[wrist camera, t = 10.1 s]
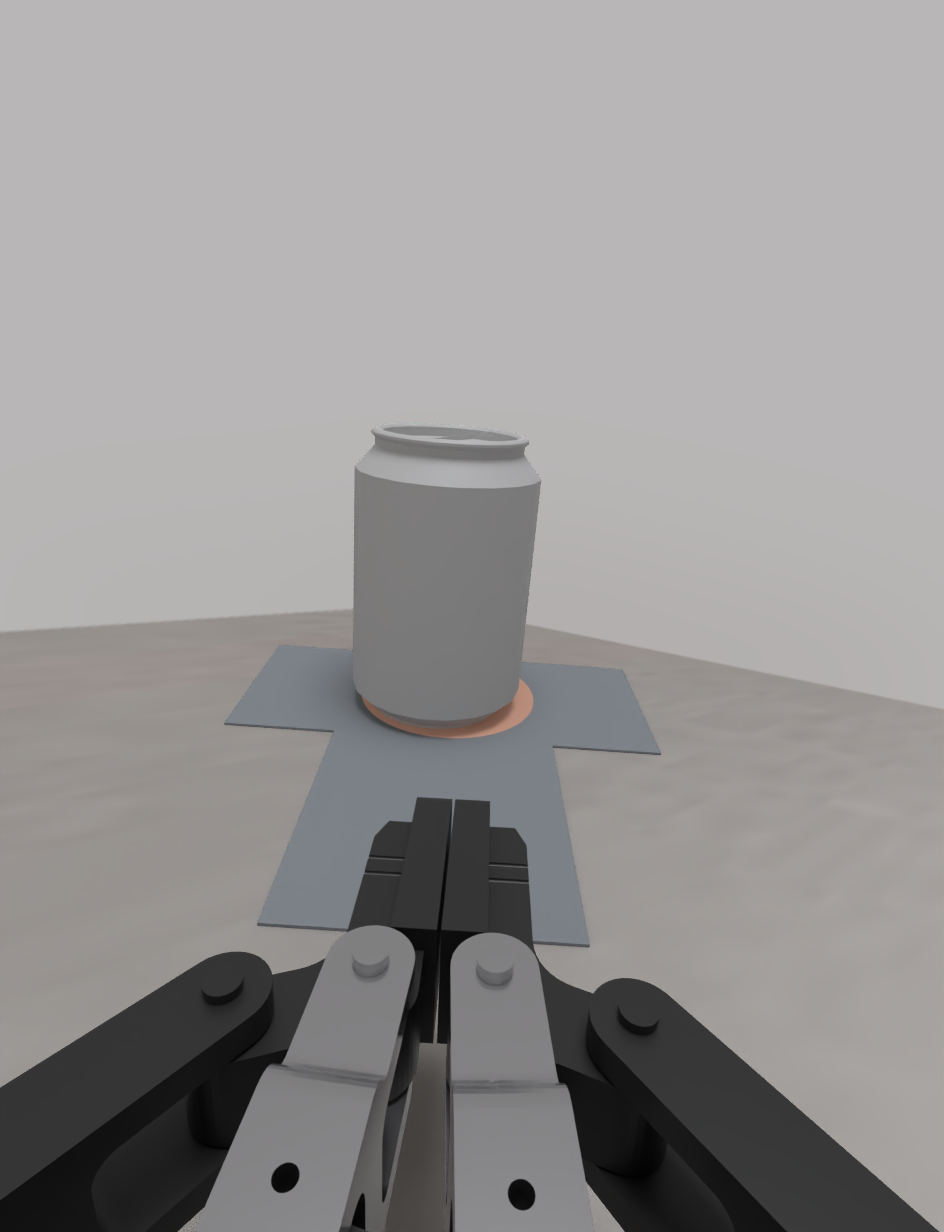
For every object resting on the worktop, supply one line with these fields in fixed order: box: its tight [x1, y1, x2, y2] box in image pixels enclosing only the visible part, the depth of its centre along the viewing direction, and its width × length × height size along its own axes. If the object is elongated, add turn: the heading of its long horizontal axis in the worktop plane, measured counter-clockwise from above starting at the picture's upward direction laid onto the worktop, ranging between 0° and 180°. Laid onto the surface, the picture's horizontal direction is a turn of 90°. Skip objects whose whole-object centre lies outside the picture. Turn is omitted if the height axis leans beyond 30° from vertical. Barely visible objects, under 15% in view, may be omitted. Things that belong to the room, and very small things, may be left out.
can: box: [353, 423, 541, 729], centre depth 28 cm, size 8×8×12 cm
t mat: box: [224, 645, 661, 947], centre depth 26 cm, size 18×18×1 cm
